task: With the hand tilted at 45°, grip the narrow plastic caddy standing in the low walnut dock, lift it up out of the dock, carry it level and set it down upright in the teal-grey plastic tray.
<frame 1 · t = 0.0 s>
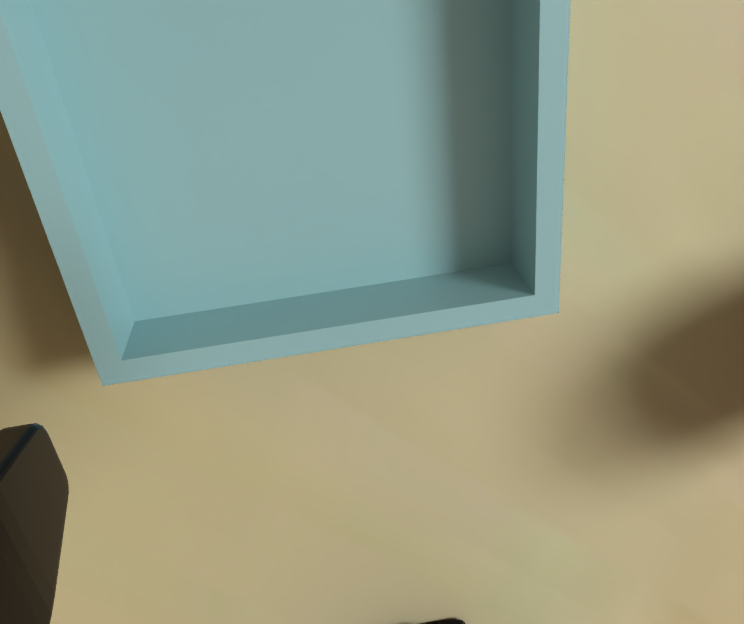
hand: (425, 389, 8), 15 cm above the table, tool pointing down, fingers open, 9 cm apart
tray: (295, 93, 21), on the table
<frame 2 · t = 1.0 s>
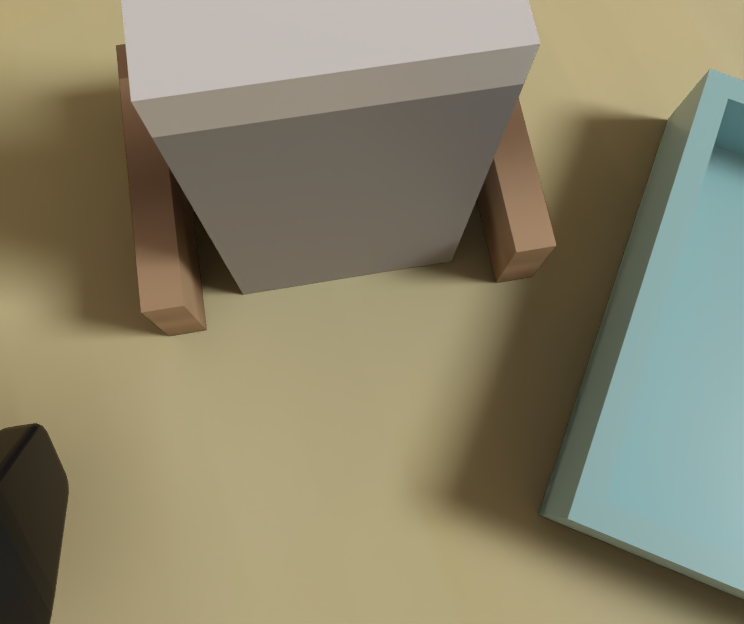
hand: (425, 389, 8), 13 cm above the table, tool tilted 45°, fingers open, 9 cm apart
dock: (337, 214, 23), on the table
caddy: (330, 125, 18), in the dock
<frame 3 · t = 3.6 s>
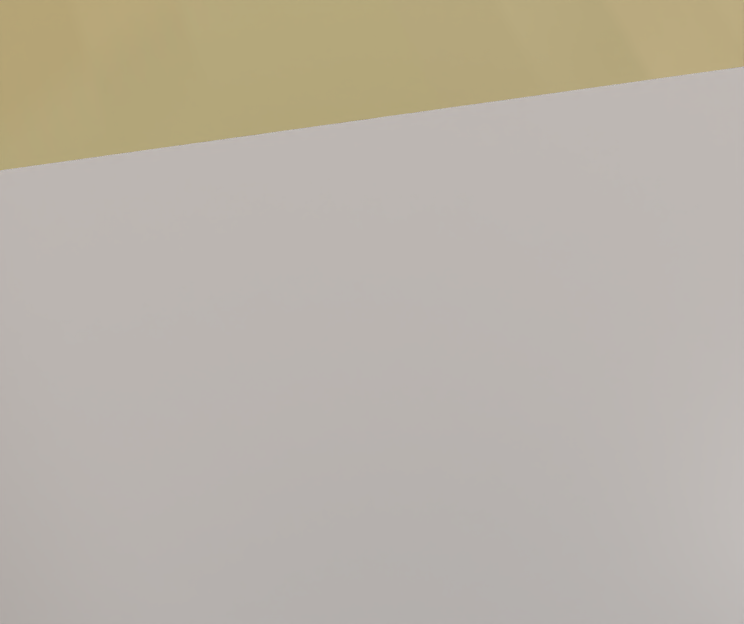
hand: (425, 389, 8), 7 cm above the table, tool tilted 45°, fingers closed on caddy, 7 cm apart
caddy: (437, 497, 9), in the dock, touching gripper
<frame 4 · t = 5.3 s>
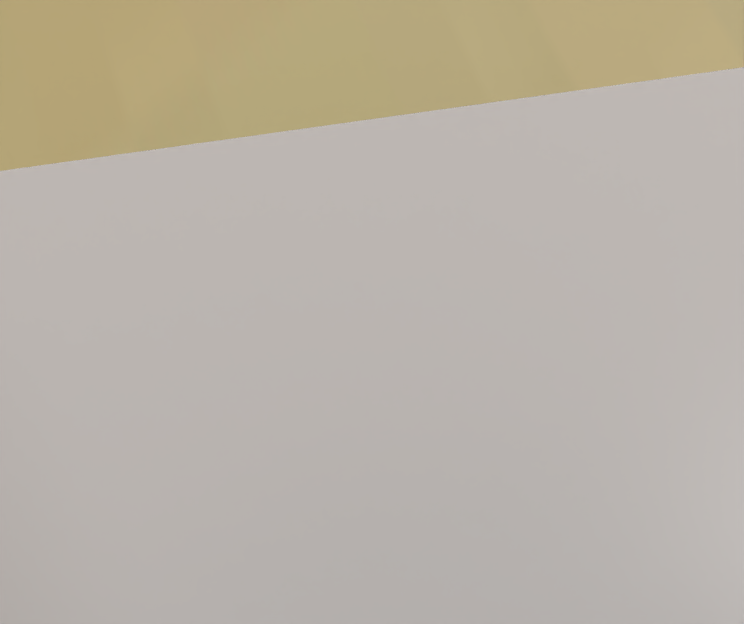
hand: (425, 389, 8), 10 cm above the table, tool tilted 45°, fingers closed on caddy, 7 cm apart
caddy: (436, 497, 9), point 9 cm above the table, touching gripper
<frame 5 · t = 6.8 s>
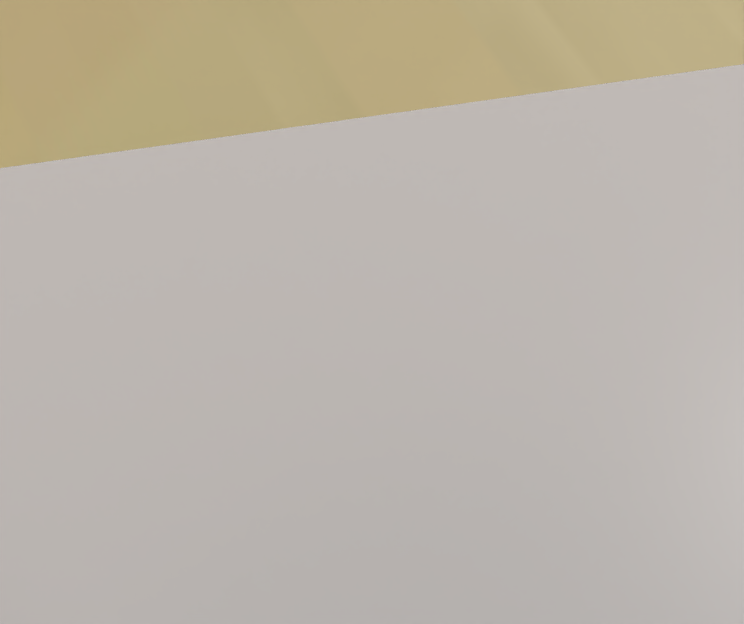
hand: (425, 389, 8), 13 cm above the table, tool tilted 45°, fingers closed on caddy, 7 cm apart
caddy: (434, 496, 9), point 12 cm above the table, touching gripper
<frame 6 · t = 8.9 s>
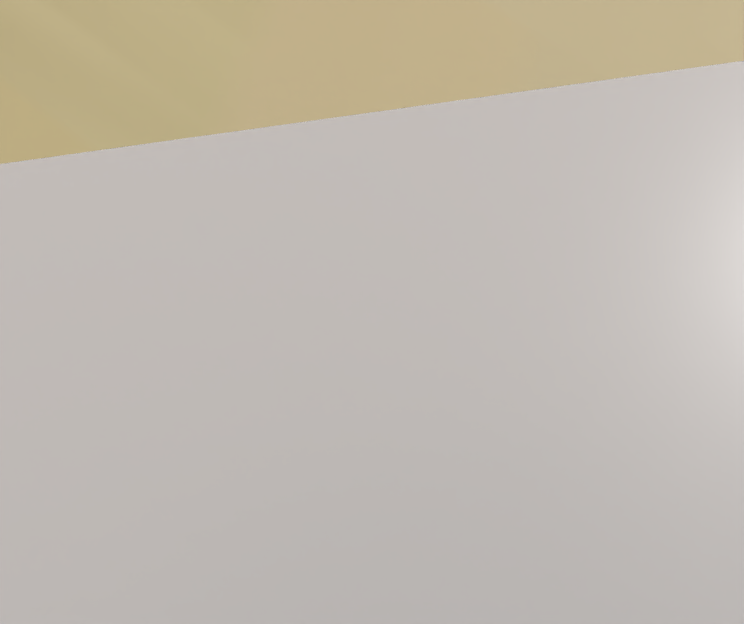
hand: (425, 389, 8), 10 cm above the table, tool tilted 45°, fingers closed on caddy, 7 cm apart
caddy: (436, 494, 9), point 9 cm above the table, touching gripper
when the fingers open (8 cm above the table, at t = 9.8 s): caddy stays where it is, resting on tray.
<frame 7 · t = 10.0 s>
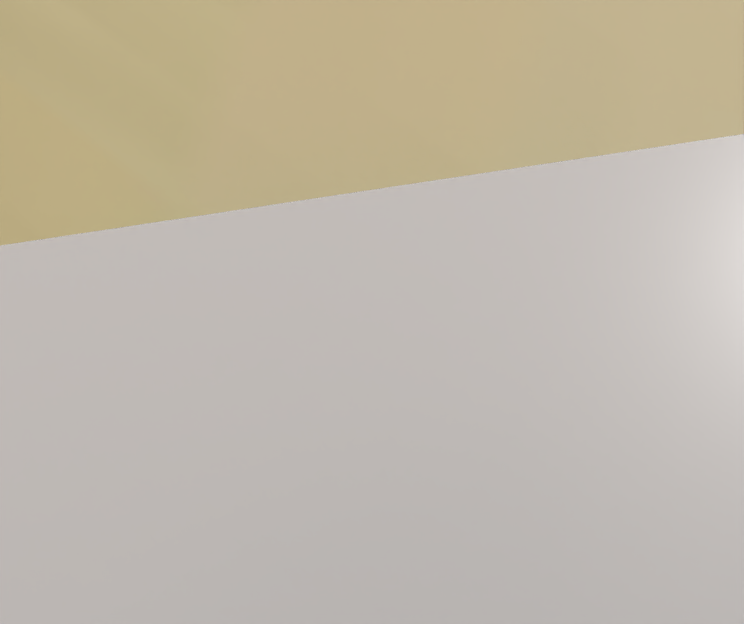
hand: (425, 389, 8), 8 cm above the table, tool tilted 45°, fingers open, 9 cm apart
caddy: (429, 496, 10), in the tray, point 6 cm above the table
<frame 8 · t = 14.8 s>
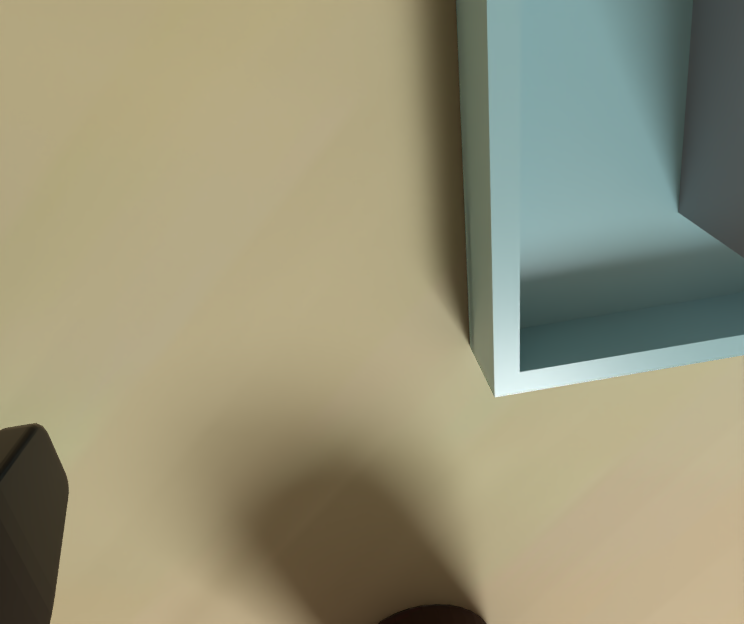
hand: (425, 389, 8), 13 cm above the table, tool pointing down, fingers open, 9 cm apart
tray: (696, 106, 21), on the table
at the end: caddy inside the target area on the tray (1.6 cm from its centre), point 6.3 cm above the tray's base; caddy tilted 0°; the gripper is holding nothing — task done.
